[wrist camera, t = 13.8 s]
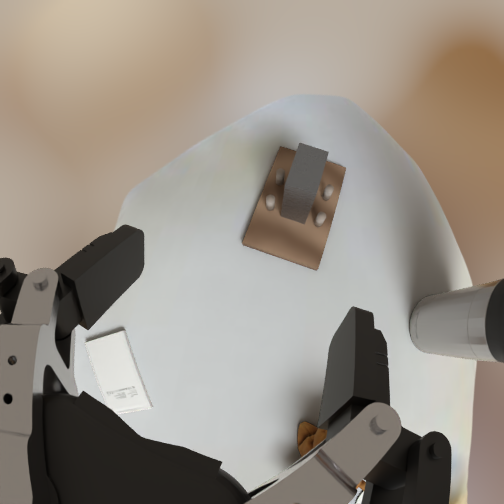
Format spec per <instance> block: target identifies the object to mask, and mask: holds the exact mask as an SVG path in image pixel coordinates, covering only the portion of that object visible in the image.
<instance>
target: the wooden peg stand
mask: <svg viewBox="0 0 504 504" xmlns="http://www.w3.org/2000/svg"><path fill="white" fill-rule="evenodd" d="M296 152H297V151H294V150H291V149H288V148H284V147H281V146H280V149H279V151H278V154H277V156H276V159H275V161H274V164H273V166H272V169H271V171H270V174H269V176H268V179H267V181H266V184H265V186H264V189H263V191H262V194H261V196H260V199H259V201H258V204H257V206H256V209H255V212H254V214H253V217H252V219H251V222H250V224H249V227H248V229H247V232H246V235H245V237H244V240H243V242H242V244H243V245H244V246H247V247H250V248H253V249H256V250H259V251H261V252H264V253H267V254H270V255H273V256H276V257H279V258H282V259H285V260H287V261H290V262H293V263H296V264H299V265H302V266H305V267H308V268H310V269H313V270H318V267H319V264H320V261H321V258H322V254H323V251H324V248H325V244H326V241H327V238H328V234H329V231H330V227H331V224H332V220H333V217H334V213H335V209H336V206H337V202H338V198H339V194H340V190H341V187H342V183H343V179H344V175H345V171H346V168H345V167H342V166H339V165H337V164H334V163H331V162H328V161H326V163H325V167H324V171H323V174H322V178H321V181H320V184H319V188H318V191H317V195H316V197H315V200H314V202H313V205H312V207H311V210H310V212H309V215H308V217H307V220H306V222H305V224H302V223H299V222H296V221H293V220H290V219H287V218H284V217H281V210H282V202H283V195H284V188H285V183H286V180H287V177H288V174H289V172H290V169H291V166H292V163H293V160H294V157H295V154H296Z"/></svg>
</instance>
